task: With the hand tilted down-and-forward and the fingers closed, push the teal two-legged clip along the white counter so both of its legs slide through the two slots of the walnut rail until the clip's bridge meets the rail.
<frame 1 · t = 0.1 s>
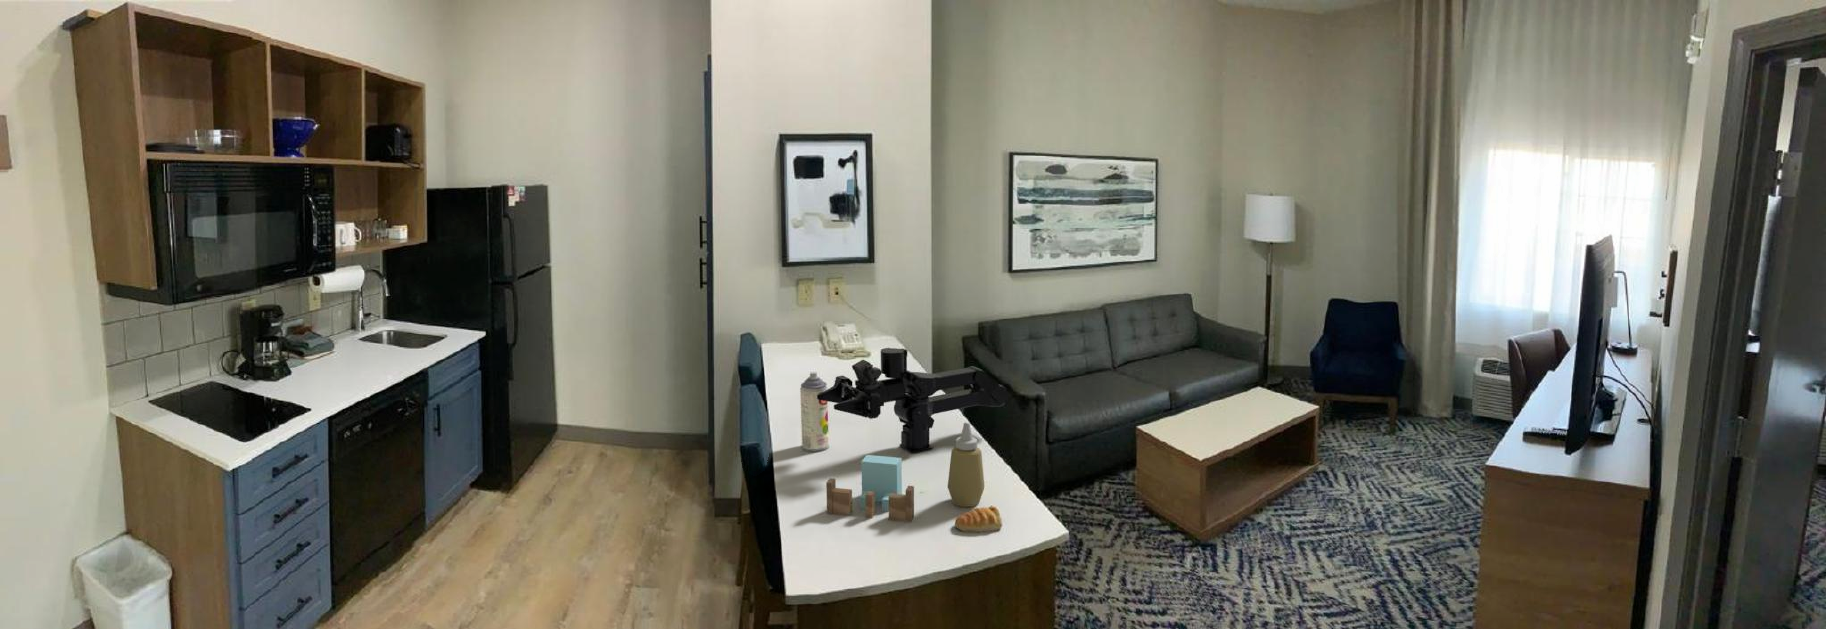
hand: (825, 402, 195), 17 cm above the counter, tool horizontal, fingers open, 9 cm apart
rail: (870, 515, 173), on the counter
clip: (882, 498, 181), on the counter
aerosol can: (815, 447, 212), on the counter
squeeze bottle: (965, 502, 179), on the counter
pastry: (980, 527, 168), on the counter
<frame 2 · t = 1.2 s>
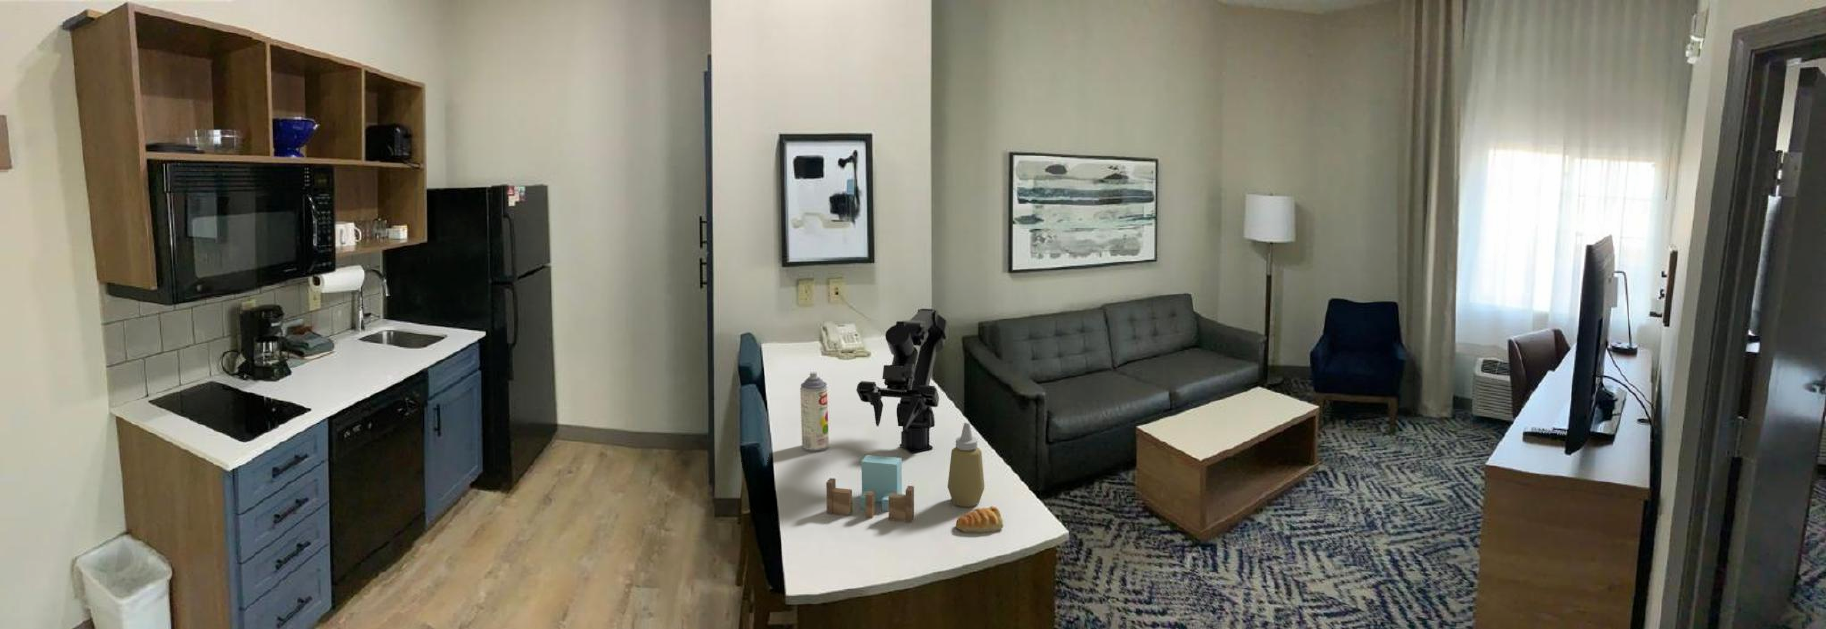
hand: (891, 426, 187), 14 cm above the counter, tool tilted 45°, fingers open, 6 cm apart
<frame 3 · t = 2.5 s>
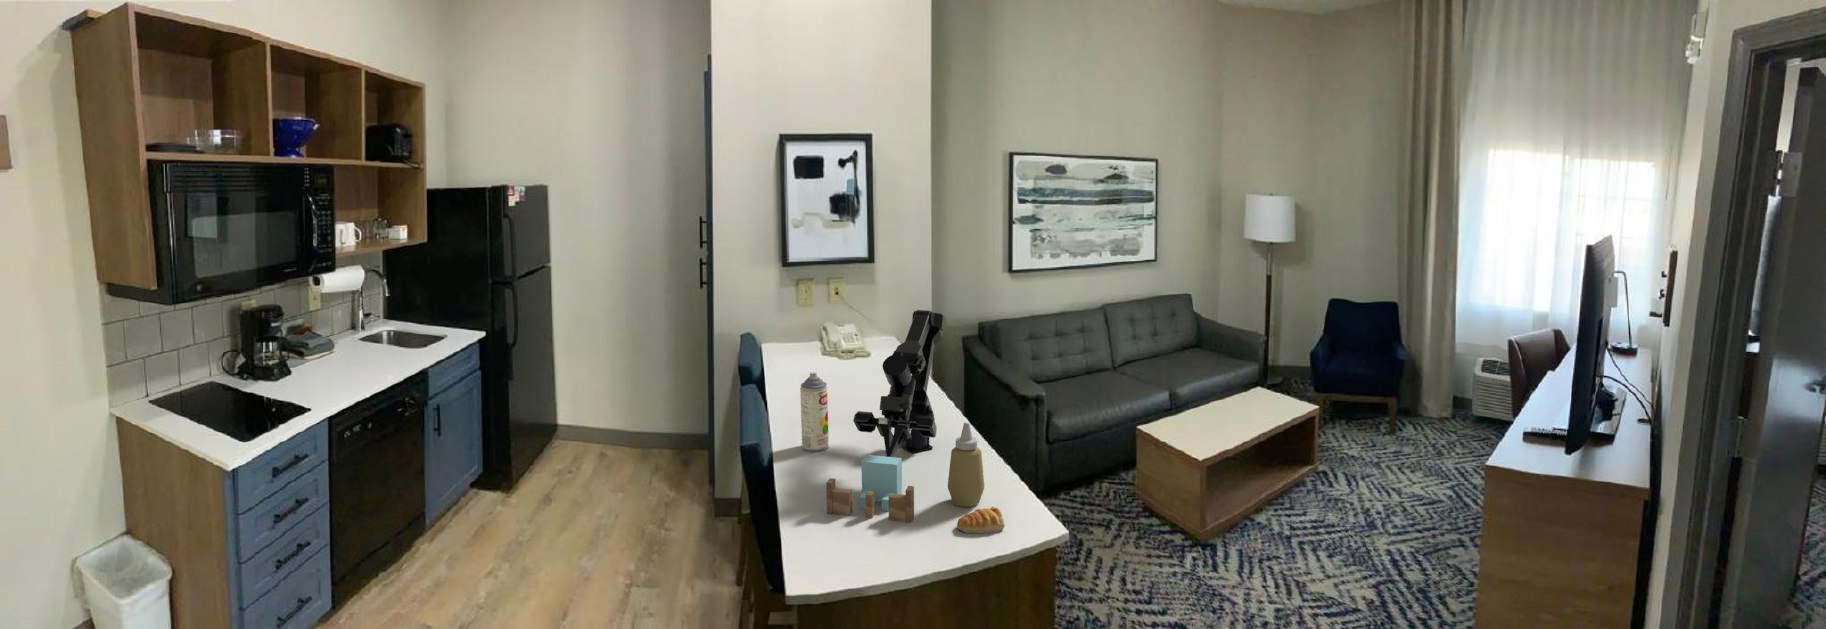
hand: (888, 457, 185), 7 cm above the counter, tool tilted 45°, fingers closed
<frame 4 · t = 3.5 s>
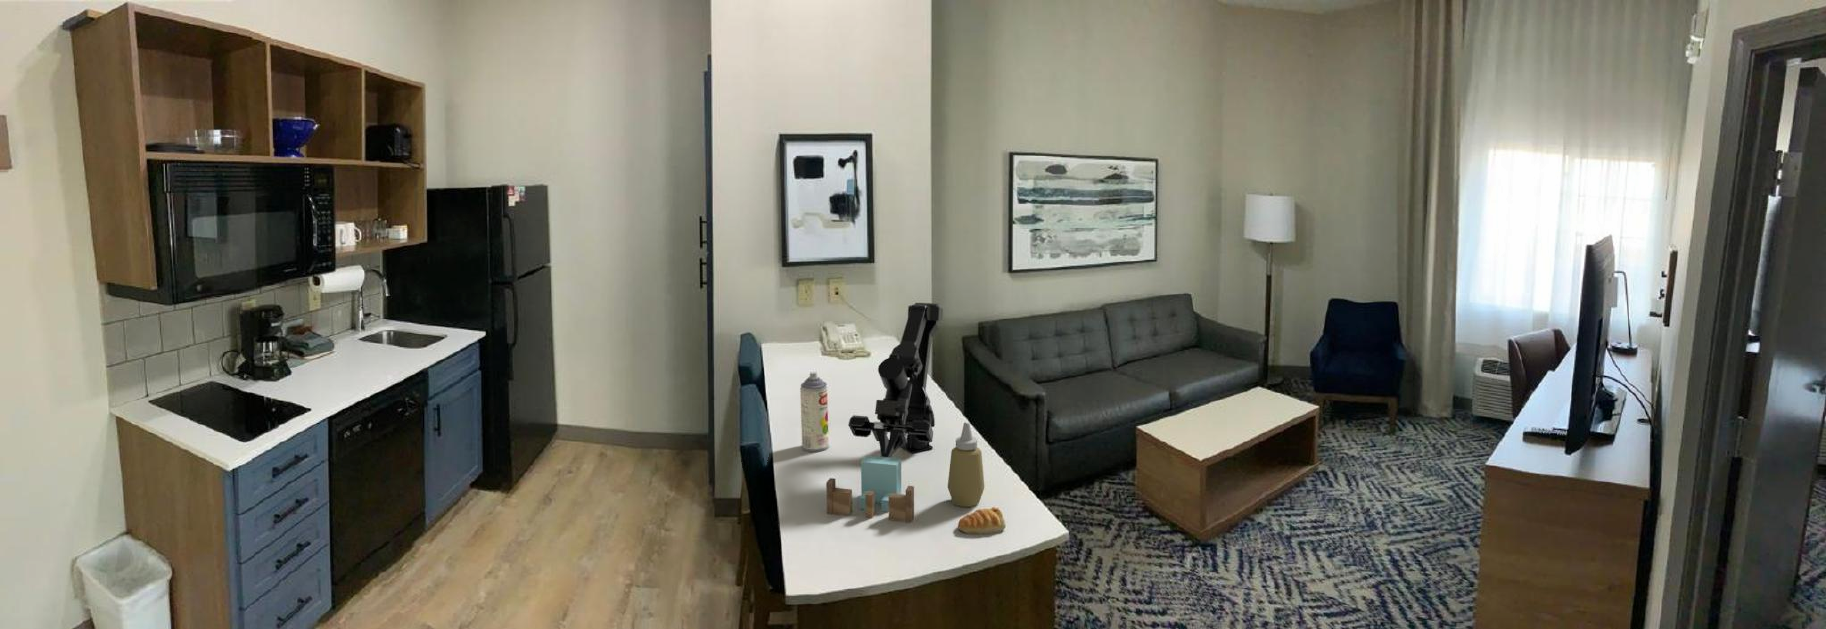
hand: (884, 463, 182), 7 cm above the counter, tool tilted 45°, fingers closed, pressing on clip
clip: (881, 498, 181), on the counter, touching gripper
everything else where it was.
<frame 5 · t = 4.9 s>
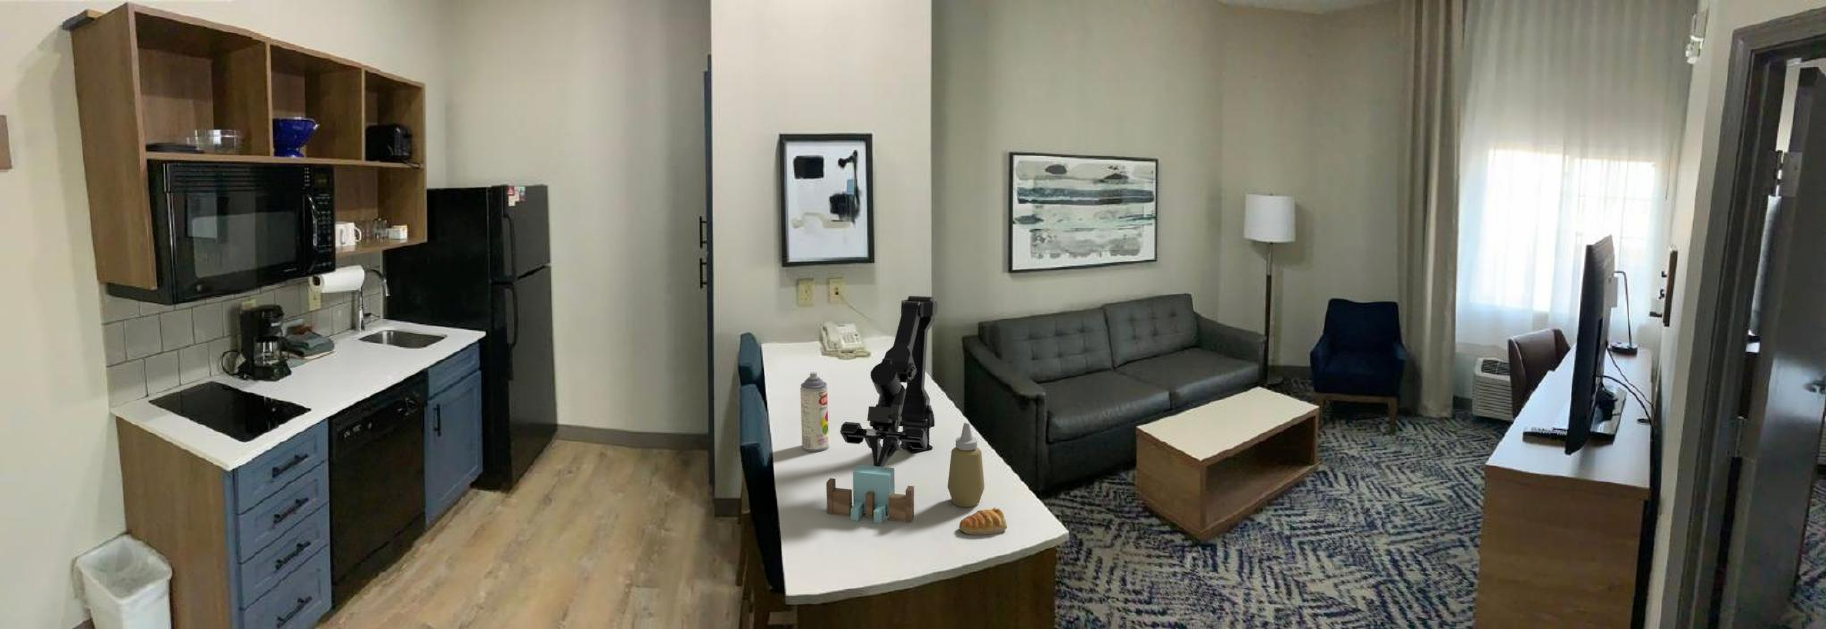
hand: (876, 471, 176), 8 cm above the counter, tool tilted 45°, fingers closed, pressing on clip
clip: (874, 509, 176), on the counter, touching gripper, rail
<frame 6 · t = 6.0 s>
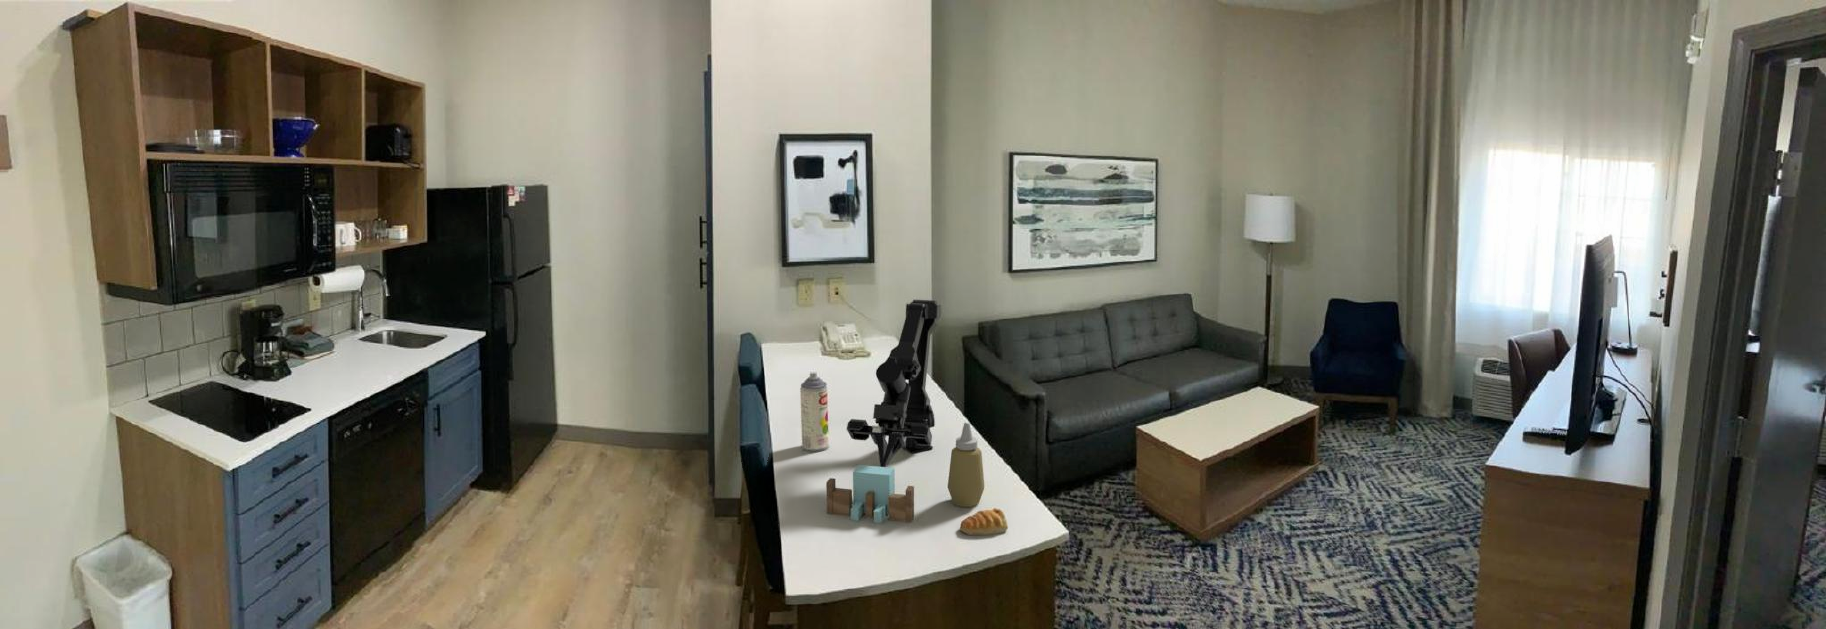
hand: (882, 467, 181), 7 cm above the counter, tool tilted 45°, fingers closed
clip: (874, 509, 176), on the counter, touching rail
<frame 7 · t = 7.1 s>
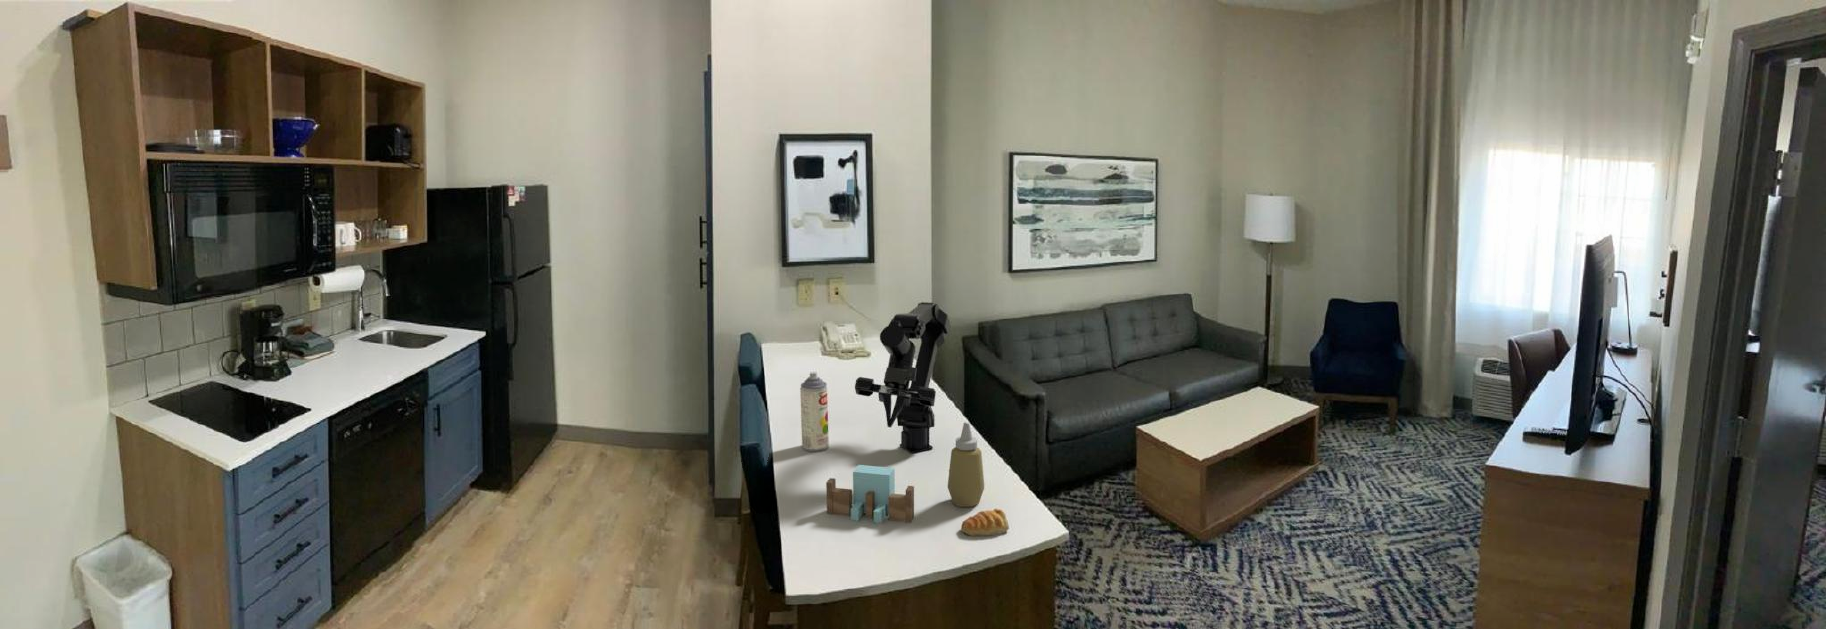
hand: (889, 426, 189), 13 cm above the counter, tool tilted 35°, fingers closed
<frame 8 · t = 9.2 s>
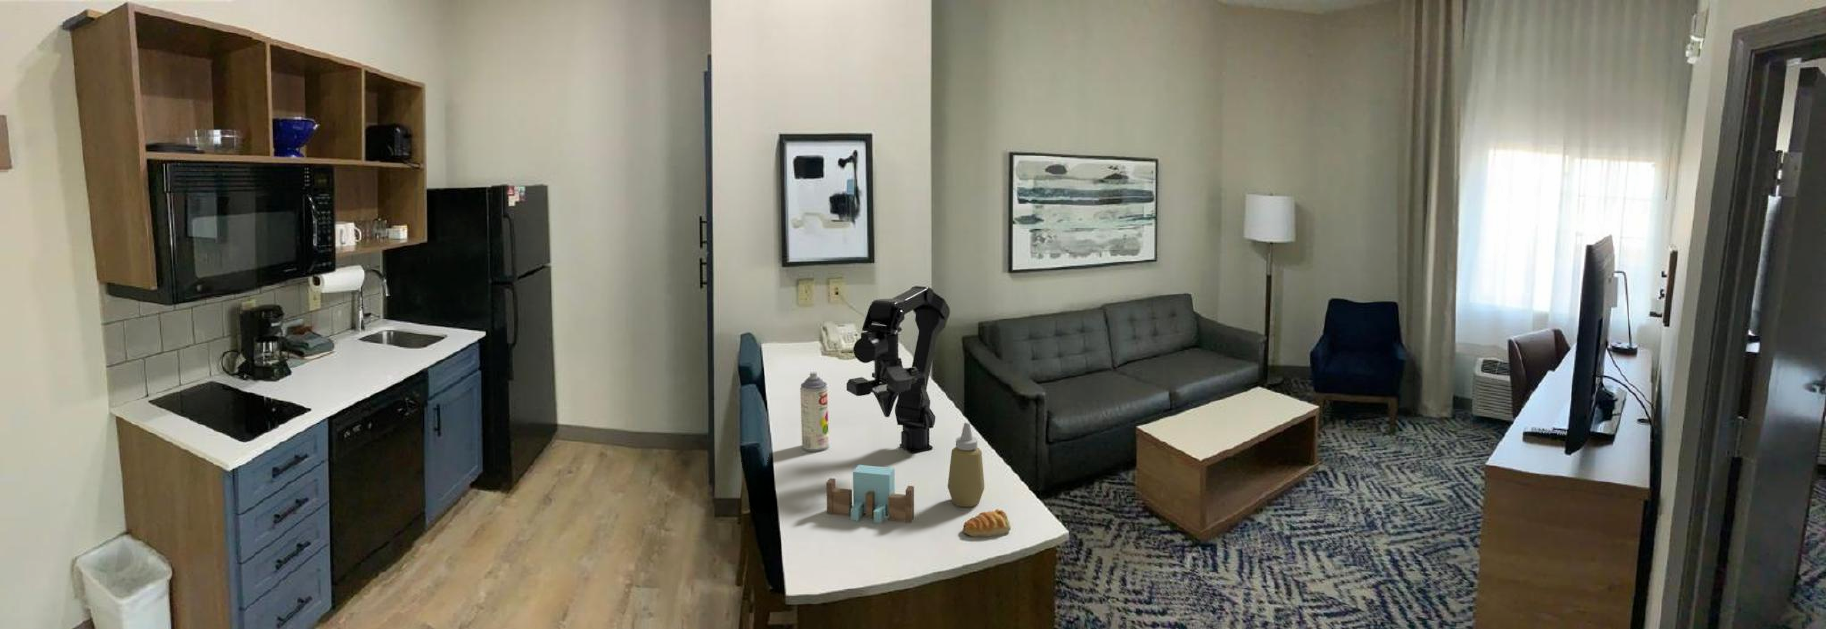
hand: (886, 416, 196), 13 cm above the counter, tool pointing down, fingers closed
at the end: clip 3.0 cm from the rail (horizontally); clip tilted 0°; clip moved 6.0 cm from its start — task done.
